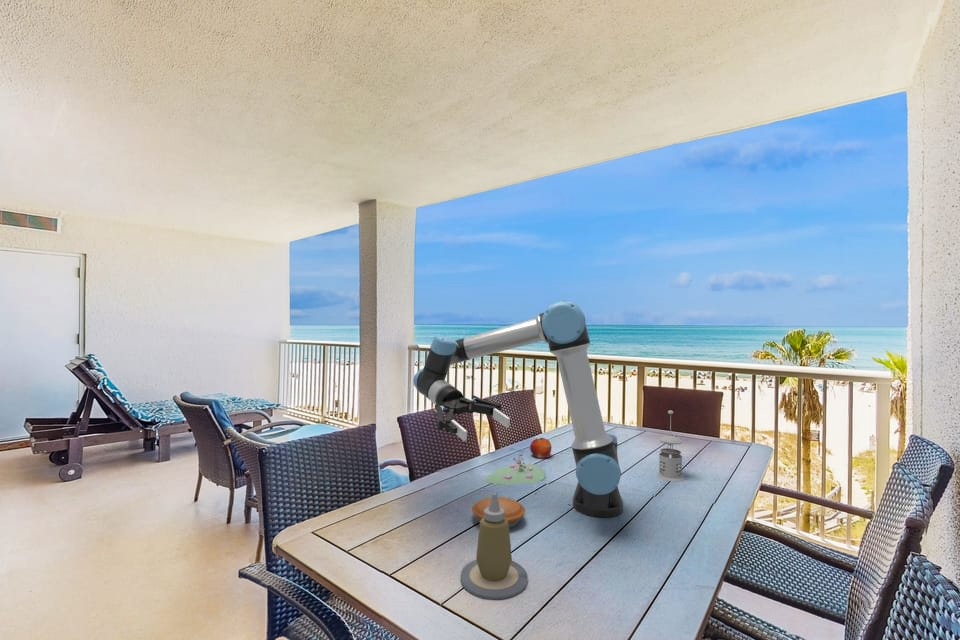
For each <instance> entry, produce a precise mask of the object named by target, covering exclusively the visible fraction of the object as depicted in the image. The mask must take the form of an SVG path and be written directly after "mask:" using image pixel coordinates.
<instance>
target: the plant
mask: <svg viewBox="0 0 960 640" xmlns="http://www.w3.org/2000/svg"><path fill="white" fill-rule="evenodd" d="M523 454H524V453H523V452H522V450H519V455H518V459H516V458H515V457H514V458H513V459H512V460H513V461H515V463H511V464H510V465H506V466H501V467H500V468H497V469H496V470H494V471H492V472H491V473H490V474H488V475H487V476H486V477H485V478H484V479H483V482H485V483H489V484H493V485H494V484H495V485H500V486H501V485H503V486H510V485H521V484H522V485H523V484H532V483H533V484H534V483H539V482H542V481H543V480H545V479H546V478H547V476H546V472H545V470H544V469H543V468H541V467H540V466H538V465H537V464H534V463H525V462H523V460H525V458H522V457H523Z"/></svg>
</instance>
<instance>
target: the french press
mask: <svg viewBox="0 0 960 640" xmlns="http://www.w3.org/2000/svg"><path fill="white" fill-rule="evenodd" d="M667 414H669V415H670V416H669V418H670V419H669V422H670V424H669V426H670V427H669V431H670V433H669V434H670V435H664V436H661V437H659V438H658V440H659V441H660V442H661V443H664V444H667V446H669V447H666V448H665V447H664V448H661V449H660V452H659V454H658V458H659V459H658V460H659V462H658V463H659V464H658V466H659V469H658V472H657V473H656V477H657V478H658V479H661V480H663V481H667V482H668V481H669V482H683V481H685V479H686V478H685V477H684V476H683V456H682V455H681V454H682V451H681V450H679V449H676V448H674V445H681V444H683V440H682V439H680V438H679V437H676V436H674V435H672V414H674V411H673V410H669V409H668V411H667ZM670 455H671V456H670Z"/></svg>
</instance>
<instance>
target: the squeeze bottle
mask: <svg viewBox="0 0 960 640" xmlns="http://www.w3.org/2000/svg"><path fill="white" fill-rule="evenodd" d="M498 497H499V496H498V494H497V493H496V492H492V493H491V496H490V498H491V500H490V505H489V507H487V508H486V509H485V510H484V518H482V519H481V520H480V522H479V529H478V535H477V536H478V537H477V545H476V546H477V548H476V555H475V560H477V564H478V567H479V570H480V573H481V575H482V577H483V578H485V579H486V580H490V581H499V580H502V579H504V578H505V577H506V576H507V573H508V570H509V567H510V564H511V561H513V557H512V547H511V545H512V544H511V536H510V535H511V534H510V528H509V523H508V520H507V519H505V511H504V509H503V508H501V507H499V502H498Z"/></svg>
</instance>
